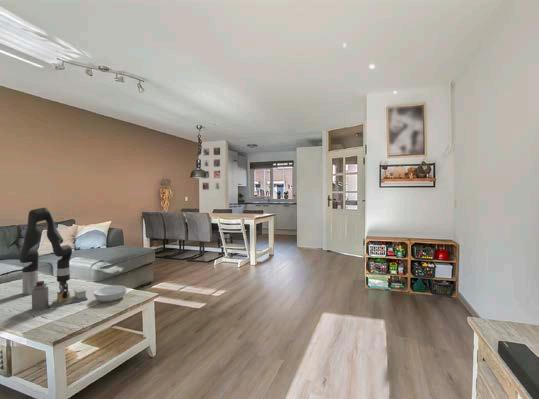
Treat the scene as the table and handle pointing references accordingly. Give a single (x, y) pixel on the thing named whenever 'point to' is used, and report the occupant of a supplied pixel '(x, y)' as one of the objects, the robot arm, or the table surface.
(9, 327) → the table surface
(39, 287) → the perfume bottle
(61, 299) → the sleeve
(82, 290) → the block
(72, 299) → the board
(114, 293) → the serving bowl
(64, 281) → the robot arm
